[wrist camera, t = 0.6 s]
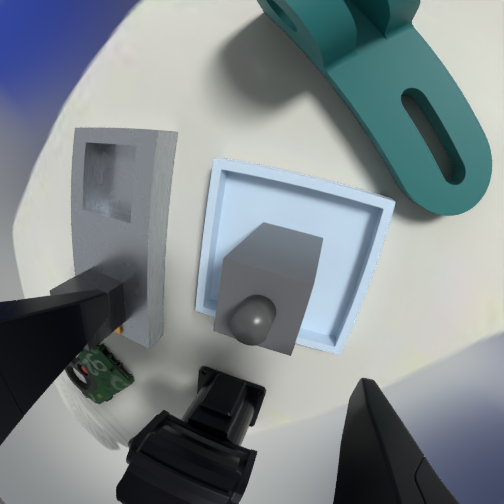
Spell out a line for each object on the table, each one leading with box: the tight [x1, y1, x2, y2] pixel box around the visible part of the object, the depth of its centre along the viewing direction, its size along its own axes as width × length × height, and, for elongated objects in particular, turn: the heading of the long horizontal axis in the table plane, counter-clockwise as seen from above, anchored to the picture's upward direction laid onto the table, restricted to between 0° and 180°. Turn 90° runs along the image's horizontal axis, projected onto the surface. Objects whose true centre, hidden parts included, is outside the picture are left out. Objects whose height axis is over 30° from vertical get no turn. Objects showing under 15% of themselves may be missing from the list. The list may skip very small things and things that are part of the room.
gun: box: [65, 344, 134, 404], centre depth 33 cm, size 16×1×10 cm
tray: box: [195, 158, 396, 355], centre depth 19 cm, size 11×11×2 cm
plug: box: [213, 222, 323, 356], centre depth 15 cm, size 4×4×9 cm
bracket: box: [257, 0, 492, 216], centre depth 11 cm, size 18×7×8 cm, turn 35°
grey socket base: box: [50, 128, 178, 352], centre depth 19 cm, size 18×9×9 cm, turn 169°
